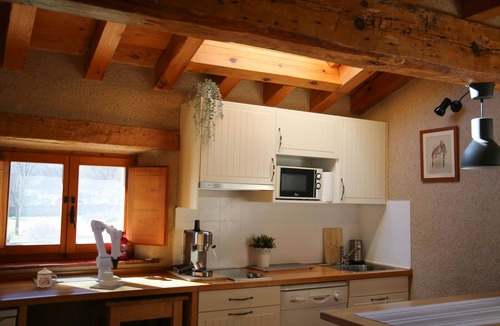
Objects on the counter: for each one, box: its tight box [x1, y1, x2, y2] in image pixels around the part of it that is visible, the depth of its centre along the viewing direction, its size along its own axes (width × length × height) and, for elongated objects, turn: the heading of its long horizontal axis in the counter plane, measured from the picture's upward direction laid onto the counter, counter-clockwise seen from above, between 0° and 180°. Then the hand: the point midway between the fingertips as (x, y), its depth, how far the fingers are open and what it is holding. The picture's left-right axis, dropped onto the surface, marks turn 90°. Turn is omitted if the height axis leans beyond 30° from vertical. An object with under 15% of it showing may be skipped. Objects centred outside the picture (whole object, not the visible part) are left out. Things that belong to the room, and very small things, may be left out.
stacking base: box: [89, 278, 127, 291], centre depth 326 cm, size 20×16×4 cm
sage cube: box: [103, 271, 114, 281], centre depth 326 cm, size 5×5×5 cm
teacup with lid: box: [36, 267, 58, 289], centre depth 320 cm, size 12×9×12 cm
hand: (115, 268), depth 334 cm, fingers open, 7 cm apart
